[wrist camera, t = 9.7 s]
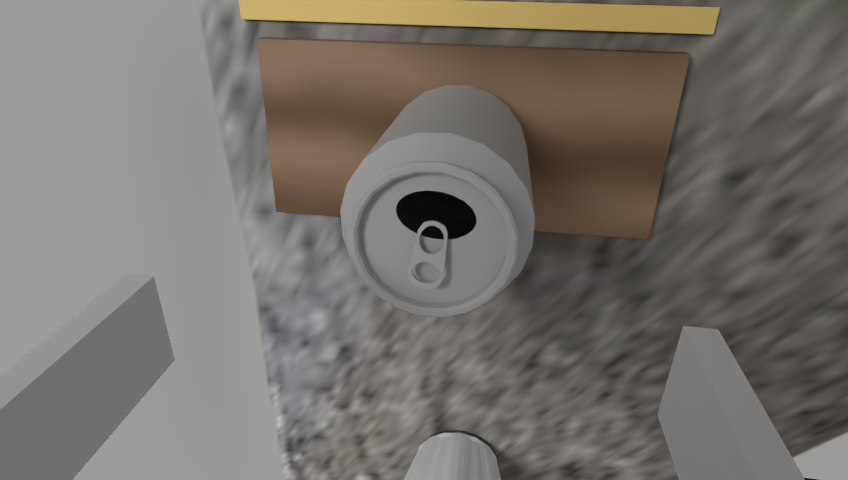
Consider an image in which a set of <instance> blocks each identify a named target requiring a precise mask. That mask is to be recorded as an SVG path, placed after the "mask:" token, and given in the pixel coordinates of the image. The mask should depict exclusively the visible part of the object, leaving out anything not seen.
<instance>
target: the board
mask: <svg viewBox="0 0 848 480" xmlns="http://www.w3.org/2000/svg"><path fill="white" fill-rule="evenodd" d="M257 42H258V51H259V60H260V69H261V78H262V87H263V96H264V105H265V114H266V123H267V132H268V141H269V150H270V159H271V168H272V177H273V186H274V195H275V204H276V212H287V213H300V214H313V215H327V216H340V217H341V213H340V209H341V205H342V201H343V197H344V193H345V189H346V185H347V183H348V181H349V180H350V178H351V177H352V175H353V174H354V172H355V171H356V169H357V168H358V167H359V165H360V164H361V162H362V161H363V159H364V158H365V157H366V155H367V154H368V153H369V152H370V150H371V149H372V148H373V147H374V145H375V144H376V143H377V142H378V140H379V139H380V138H381V137H382V135H383V134H384V133H385V131H386V130H387V129H388V128H389V126H390V125H391V124H392V123H393V121H394V120H395V119H396V118H397V116H398V115H399V114H400V113H401V111H402V110H403V109H404V108H405V106H406V105H407V104H409V103H410V102H411V101H413V100H414V99H415V98H417V97H418V96H419V95H421V94H422V93H423V92H426V91H429V90H432V89H435V88H438V87H441V86H444V85H469V86H472V87H475V88H478V89H481V90H484V91H487V92H490V93H491V94H493V95H494V96H495V97H497V98H498V99H499V100H501V101H502V102H503V103H504V104H506V105H507V106H508V107H509V108H510V110H511V111H512V113H513V114H514V116H515V117H516V118H517V120H518V121H519V123H520V124H521V127H522V131H523V134H524V138H525V142H526V146H527V153H528V162H529V170H530V179H531V188H532V196H533V205H534V214H535V225H534V231H539V232H552V233H565V234H579V235H592V236H605V237H618V238H632V239H645V240H648V239H649V234H650V230H651V225H652V221H653V217H654V212H655V208H656V204H657V199H658V195H659V190H660V186H661V182H662V177H663V173H664V168H665V164H666V160H667V155H668V151H669V147H670V142H671V138H672V133H673V129H674V125H675V120H676V116H677V111H678V107H679V103H680V98H681V94H682V90H683V85H684V81H685V76H686V72H687V68H688V63H689V59H690V54H688V53H686V52H658V51H631V50H603V49H575V48H548V47H520V46H492V45H465V44H437V43H409V42H382V41H354V40H326V39H299V38H271V37H262V38H258V39H257Z"/></svg>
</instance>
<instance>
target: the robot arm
mask: <svg viewBox="0 0 848 480" xmlns="http://www.w3.org/2000/svg"><path fill="white" fill-rule="evenodd" d="M173 361H174V356H173V352H172V348H171V343H170V340H169V336H168V331H167V327H166V323H165V319H164V315H163V311H162V308H161V304H160V299H159V296H158V292H157V288H156V283H155V279H154V276H146V275H135V274H126V275H124V276H123V277H122V278H121V279H119V280H118V281H117V282H116V283H114V284H113V285H112V286H111V287H109V288H108V289H107V290H106V291H104V292H103V293H102V294H101V295H99V296H98V297H97V298H95V299H94V300H93V301H92V302H90V303H89V304H88V305H87V306H86V307H84V308H83V309H82V310H80V311H79V312H78V313H77V314H76V315H74V316H73V317H72V318H70V319H69V320H68V321H67V322H65V323H64V324H63V325H62V326H61V327H59V328H58V329H57V330H56V331H54V332H53V333H52V334H51V335H49V336H48V337H47V338H45V339H44V340H43V341H42V342H40V343H39V344H38V345H37V346H35V347H34V348H33V349H32V350H30V351H29V352H28V353H27V354H26V355H24V356H23V357H22V358H20V359H19V360H18V361H17V362H16V363H14V364H13V365H12V366H11V367H9V368H8V369H7V370H5V371H4V372H3V373H2V374H1V375H0V480H73V478H74V477H75V476H76V475H77V474H78V472H79V471H80V470H81V469H82V468H83V467H84V465H85V464H86V463H87V462H88V461H89V460H90V458H91V457H92V456H93V455H94V454H95V453H96V451H97V450H98V449H99V448H100V447H101V445H102V444H103V443H104V442H105V441H106V439H107V438H108V437H109V436H110V435H111V434H112V433H113V431H114V430H115V429H116V428H117V427H118V425H119V424H120V423H121V422H122V421H123V420H124V419H125V417H126V416H127V415H128V414H129V413H130V412H131V410H132V409H133V408H134V407H135V406H136V404H137V403H138V402H139V401H140V400H141V399H142V397H143V396H144V395H145V394H146V393H147V391H148V390H149V389H150V388H151V387H152V386H153V385H154V383H155V382H156V381H157V380H158V379H159V378H160V376H161V375H162V374H163V373H164V372H165V371H166V369H167V368H168V367H169V366H170V364H171V363H172V362H173ZM657 415H658V418H659V421H660V424H661V427H662V430H663V433H664V436H665V439H666V442H667V445H668V448H669V451H670V454H671V458H672V461H673V464H674V467H675V470H676V473H677V476H678V479H679V480H816V479H808V478H804V477H803V476H802V474H801V472H800V470H799V469H798V467H797V465H796V464H795V462H794V460H793V458H792V456H791V455H790V453H789V451H788V450H787V448H786V446H785V444H784V443H783V441H782V439H781V437H780V436H779V434H778V432H777V430H776V429H775V427H774V425H773V424H772V422H771V420H770V418H769V417H768V415H767V413H766V411H765V410H764V408H763V406H762V404H761V403H760V401H759V399H758V398H757V396H756V394H755V392H754V391H753V389H752V387H751V385H750V384H749V382H748V380H747V378H746V377H745V375H744V373H743V372H742V370H741V368H740V366H739V365H738V363H737V361H736V359H735V358H734V356H733V354H732V352H731V351H730V349H729V347H728V346H727V344H726V342H725V340H724V339H723V337H722V335H721V333H720V332H719V330H718V329H710V328H699V327H689V326H683V328H682V331H681V335H680V338H679V342H678V345H677V349H676V352H675V355H674V359H673V362H672V366H671V369H670V373H669V376H668V379H667V383H666V386H665V390H664V393H663V397H662V400H661V403H660V407H659V410H658V414H657Z"/></svg>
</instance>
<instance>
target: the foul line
mask: <svg viewBox="0 0 848 480" xmlns="http://www.w3.org/2000/svg"><path fill="white" fill-rule="evenodd" d="M239 5H240V13H241V19H250V20H281V21H312V22H343V23H374V24H405V25H436V26H467V27H498V28H529V29H560V30H591V31H622V32H653V33H684V34H714V30H715V26H716V22H717V18H718V14H719V10H720V7H696V6H658V5H621V4H583V3H546V2H508V1H470V0H239Z"/></svg>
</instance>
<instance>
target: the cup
mask: <svg viewBox="0 0 848 480" xmlns="http://www.w3.org/2000/svg"><path fill="white" fill-rule="evenodd" d="M404 480H501V477H500V473H499V469H498V464H497V458H496V456H495V454H494V453H493V451H492V450H491V448H490V447H489V445H488V444H487V443H486V442H484V441H483V440H481V439H480V438H478V437H477V436H475V435H472V434H469V433H466V432H462V431H443V432H440V433H437V434H434V435H431V436H430V437H429V438H428V439H427V440H425V441H424V442H423V443H422V444H421V445H420V447H419V449H418V452H417V454H416V456H415V458H414V460H413V462H412V464H411V466H410V468H409V470H408V472H407V474H406V476H405V478H404Z"/></svg>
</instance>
